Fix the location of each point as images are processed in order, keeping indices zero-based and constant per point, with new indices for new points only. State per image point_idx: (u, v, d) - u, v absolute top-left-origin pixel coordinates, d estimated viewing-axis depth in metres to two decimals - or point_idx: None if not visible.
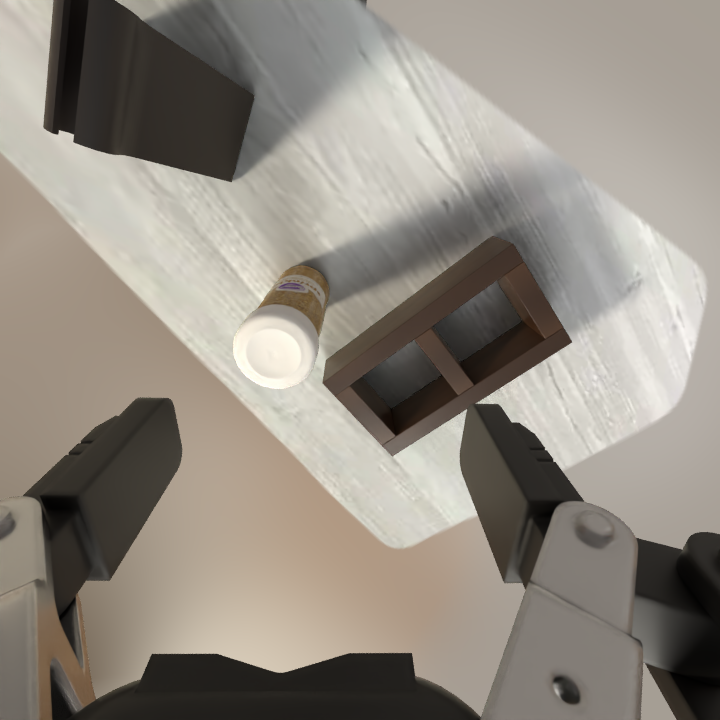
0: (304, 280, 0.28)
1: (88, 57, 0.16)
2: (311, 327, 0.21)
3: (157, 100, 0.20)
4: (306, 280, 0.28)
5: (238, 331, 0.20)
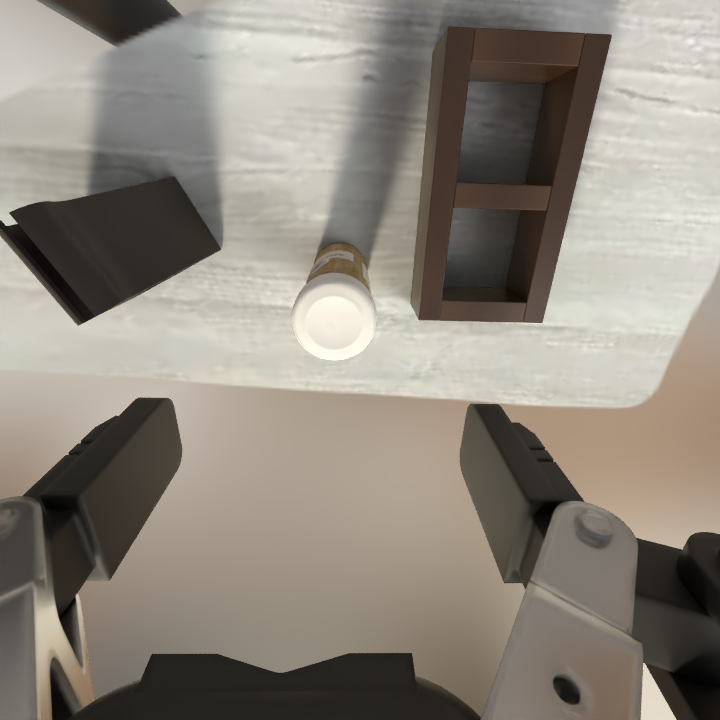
0: (323, 257, 0.27)
1: (49, 255, 0.20)
2: (341, 276, 0.20)
3: (116, 242, 0.23)
4: (325, 255, 0.27)
5: (294, 332, 0.20)
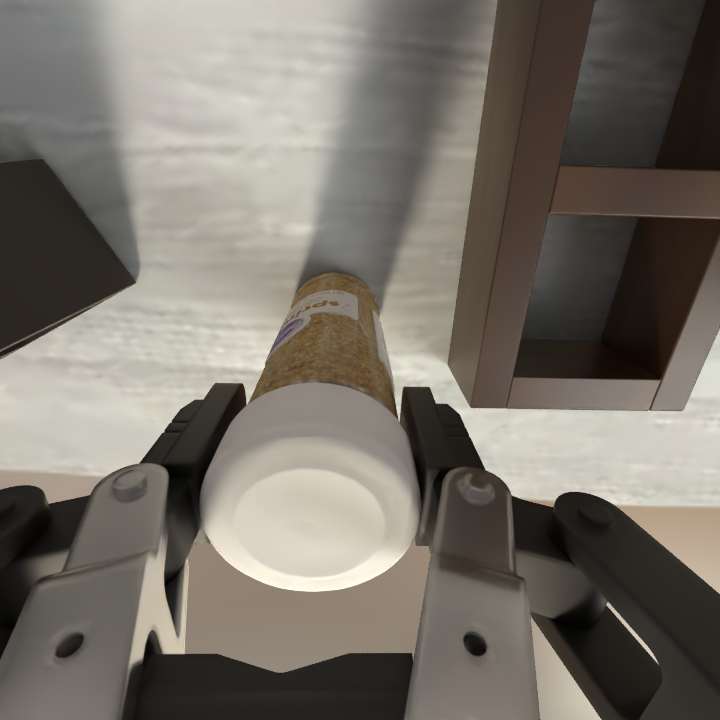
0: (302, 306, 0.15)
1: None
2: (330, 399, 0.08)
3: None
4: (305, 302, 0.15)
5: (210, 540, 0.08)
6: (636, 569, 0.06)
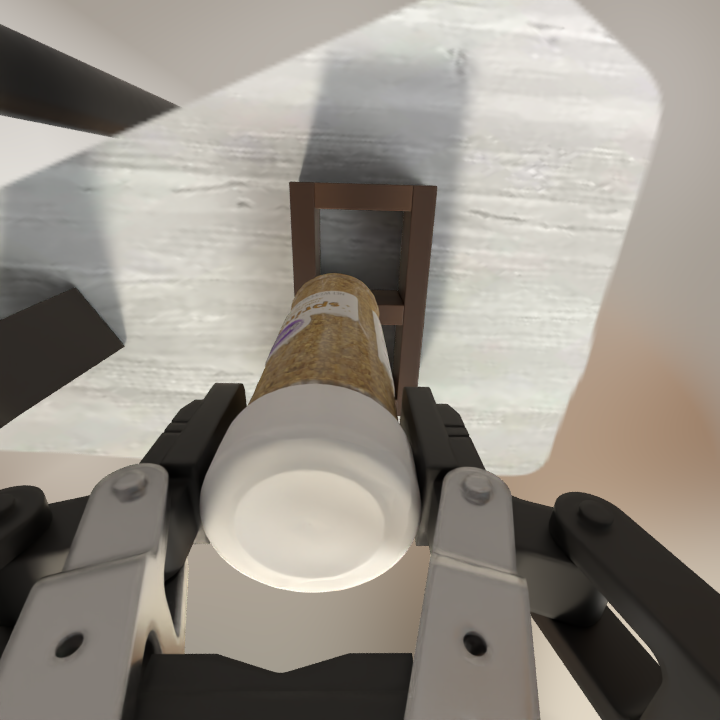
0: (302, 307, 0.15)
1: None
2: (329, 400, 0.08)
3: (2, 368, 0.26)
4: (305, 303, 0.15)
5: (210, 541, 0.08)
6: (637, 569, 0.06)
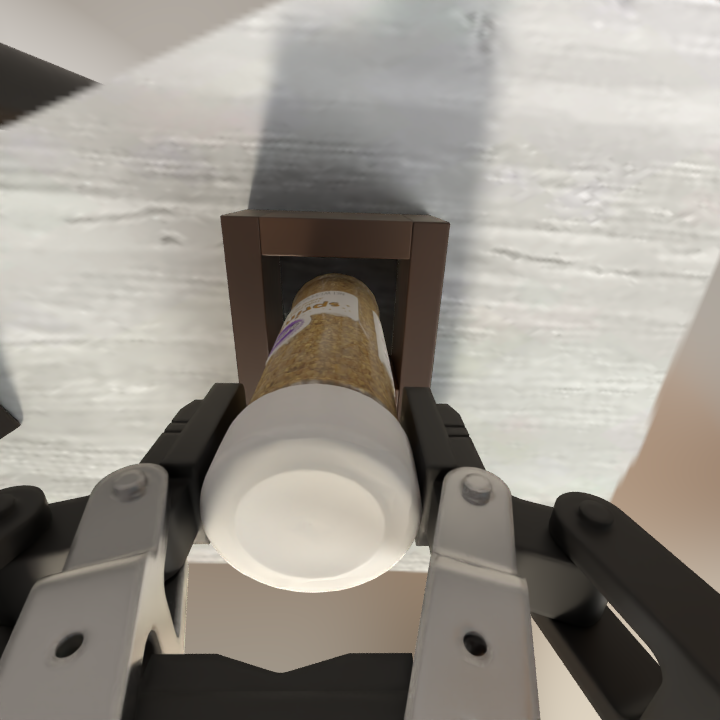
0: (302, 306, 0.15)
1: None
2: (330, 400, 0.08)
3: None
4: (306, 303, 0.15)
5: (210, 541, 0.08)
6: (636, 569, 0.06)
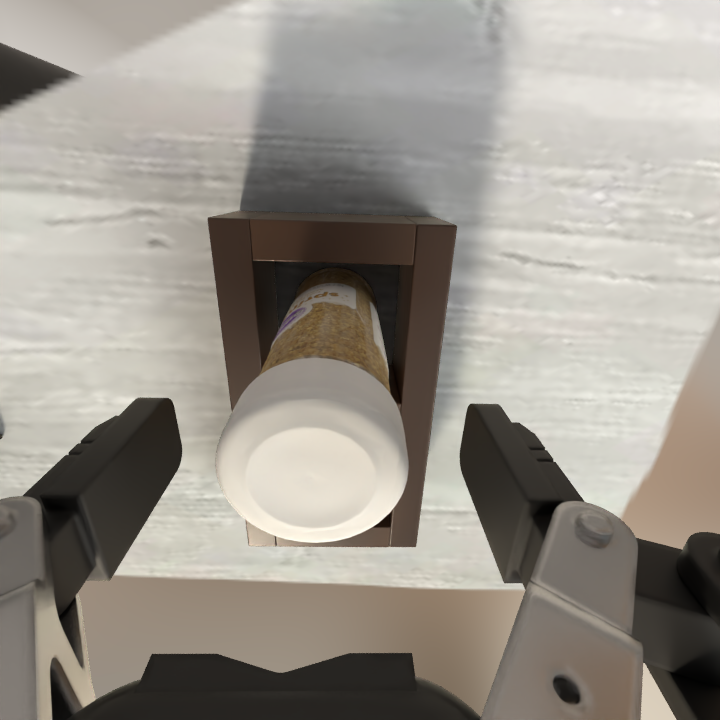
0: (304, 297, 0.16)
1: None
2: (329, 370, 0.09)
3: None
4: (307, 293, 0.16)
5: (224, 494, 0.09)
6: None
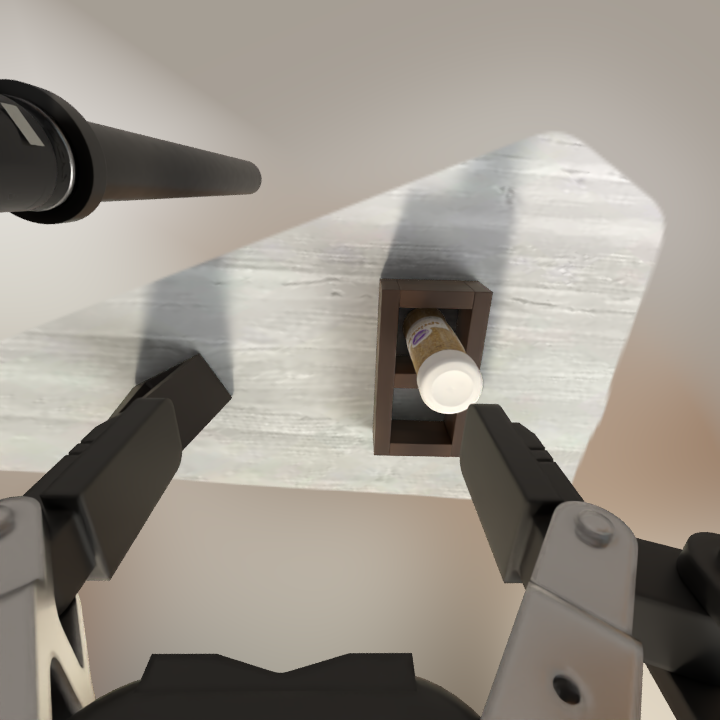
0: (421, 323, 0.34)
1: None
2: (457, 353, 0.27)
3: None
4: (422, 322, 0.35)
5: (421, 394, 0.28)
6: None
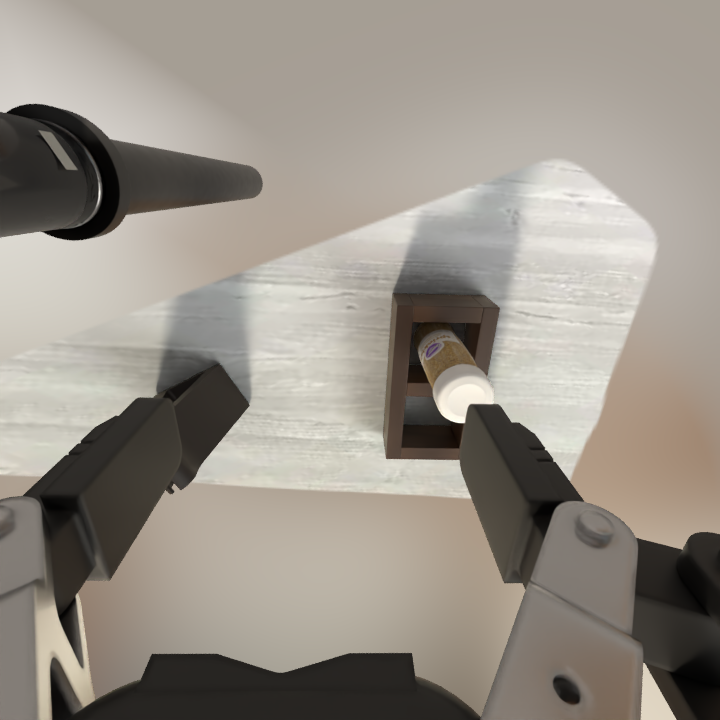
0: (433, 337, 0.37)
1: None
2: (471, 368, 0.30)
3: (189, 432, 0.37)
4: (433, 335, 0.37)
5: (438, 405, 0.30)
6: None
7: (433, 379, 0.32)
